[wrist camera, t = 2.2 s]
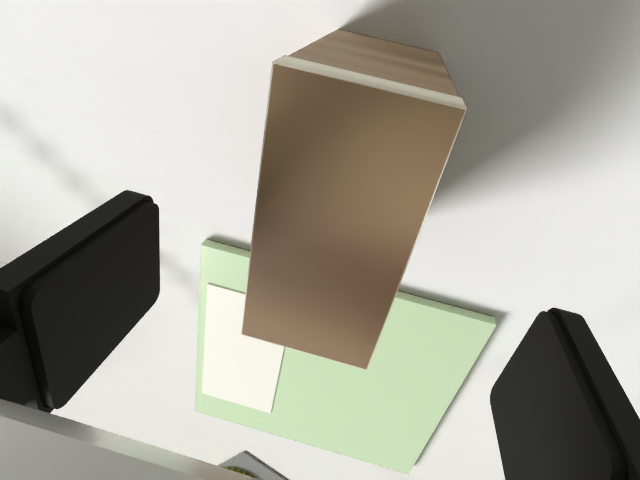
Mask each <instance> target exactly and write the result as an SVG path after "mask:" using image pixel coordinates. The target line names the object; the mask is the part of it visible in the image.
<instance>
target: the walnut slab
mask: <svg viewBox="0 0 640 480" xmlns="http://www.w3.org/2000/svg"><path fill="white" fill-rule="evenodd" d="M466 111H467V107H466V105H465V103H464V101H463V99H462V98H461V97H459V95H458V93H457V91H456V89H455V86H454V84H453V82H452V80H451V78H450V76H449V74H448V71H447V69H446V67H445V65H444V63H443V61H442V58H441V56H440V54H439V53H438V52H433V51H429V50H425V49H421V48H416V47H412V46H408V45H404V44H399V43H395V42H391V41H387V40H382V39H378V38H374V37H370V36H365V35H361V34H357V33H353V32H348V31H344V30H340V29H338V30H336V31H334V32H332V33H330V34H328V35H326V36H324V37H323V38H321V39H319V40H317V41H315V42H313V43H311V44H309V45H308V46H306V47H304V48H302V49H300V50H298V51H296V52H294V53H293V54H291V55H289V56H286V55H284V56H283V57H281V58H279V59H277V60H275V61H273V62H272V70H271V78H270V87H269V95H268V104H267V113H266V121H265V130H264V138H263V147H262V155H261V164H260V173H259V181H258V190H257V198H256V207H255V215H254V224H253V233H252V241H251V250H250V258H249V267H248V275H247V284H246V293H245V301H244V310H243V318H242V327H241V335H243V336H247V337H250V338H254V339H258V340H261V341H265V342H268V343H272V344H275V345H279V346H282V347H286V348H289V349H293V350H296V351H300V352H304V353H307V354H311V355H314V356H318V357H321V358H325V359H328V360H332V361H335V362H339V363H342V364H346V365H350V366H353V367H357V368H360V369H364V370H367V369H368V367H369V364H370V362H371V359H372V356H373V354H374V351H375V349H376V346H377V343H378V341H379V338H380V335H381V333H382V330H383V328H384V325H385V322H386V320H387V317H388V315H389V312H390V309H391V307H392V304H393V302H394V299H395V296H396V294H397V291H398V289H399V286H400V283H401V281H402V278H403V275H404V273H405V270H406V268H407V265H408V262H409V260H410V257H411V255H412V252H413V249H414V247H415V244H416V242H417V239H418V236H419V234H420V231H421V228H422V226H423V223H424V221H425V218H426V215H427V213H428V210H429V208H430V205H431V202H432V200H433V197H434V195H435V192H436V189H437V187H438V184H439V182H440V179H441V176H442V174H443V171H444V168H445V166H446V163H447V161H448V158H449V155H450V153H451V150H452V148H453V145H454V142H455V140H456V137H457V135H458V132H459V129H460V127H461V124H462V121H463V119H464V116H465V114H466Z"/></svg>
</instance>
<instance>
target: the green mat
mask: <svg viewBox="0 0 640 480" xmlns="http://www.w3.org/2000/svg"><path fill="white" fill-rule="evenodd" d="M249 258H250V251H247V250H244V249H240V248H236V247H233V246H229V245H225V244H221V243H218V242H214V241H210V240H207V239H205V241H204V242H203V243H202V244H201V258H200V286H199V314H198V342H197V371H196V399H195V411H196V412H199V413H202V414H206V415H209V416H212V417H216V418H219V419H223V420H226V421H229V422H233V423H236V424H240V425H243V426H246V427H250V428H253V429H256V430H260V431H263V432H267V433H270V434H273V435H277V436H280V437H284V438H287V439H290V440H294V441H297V442H301V443H304V444H307V445H311V446H314V447H317V448H321V449H324V450H328V451H331V452H334V453H338V454H341V455H345V456H348V457H351V458H355V459H358V460H361V461H365V462H368V463H372V464H375V465H378V466H382V467H385V468H389V469H392V470H395V471H399V472H402V473H405V474H409V472H410V470H411V469H412V467H413V465H414V464H415V462H416V460H417V459H418V457H419V455H420V453H421V452H422V450H423V448H424V447H425V445H426V443H427V442H428V440H429V438H430V437H431V435H432V433H433V432H434V430H435V428H436V426H437V425H438V423H439V421H440V420H441V418H442V416H443V415H444V413H445V411H446V410H447V408H448V406H449V405H450V403H451V401H452V399H453V398H454V396H455V394H456V393H457V391H458V389H459V388H460V386H461V384H462V383H463V381H464V379H465V378H466V376H467V374H468V372H469V371H470V369H471V367H472V366H473V364H474V362H475V361H476V359H477V357H478V356H479V354H480V352H481V351H482V349H483V347H484V345H485V344H486V342H487V340H488V339H489V337H490V335H491V334H492V332H493V330H494V329H495V327H496V321H495V317H492V316H488V315H485V314H481V313H477V312H474V311H470V310H466V309H462V308H459V307H455V306H451V305H448V304H444V303H440V302H436V301H433V300H429V299H425V298H422V297H418V296H414V295H411V294H407V293H403V292H399V291H397V294H396V296H395V299H394V302H393V304H392V307H391V309H390V312H389V315H388V317H387V320H386V322H385V325H384V328H383V330H382V333H381V335H380V338H379V341H378V343H377V346H376V349H375V351H374V354H373V356H372V359H371V362H370V364H369V367H368V369H367V370H364V369H360V368H357V367H353V366H350V365H346V364H342V363H339V362H335V361H332V360H328V359H325V358H321V357H318V356H314V355H311V354H307V353H304V352H300V351H296V350H293V349H289V348H286V347H282V346H279V345H275V344H272V343H268V342H265V341H261V340H258V339H254V338H250V337H247V336H243V335H241V327H242V318H243V310H244V301H245V293H246V284H247V275H248V267H249Z"/></svg>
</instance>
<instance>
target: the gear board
mask: <svg viewBox="0 0 640 480" xmlns="http://www.w3.org/2000/svg"><path fill="white" fill-rule="evenodd" d="M218 466H219V467H222V468H225V469H228V470H231V471H234V472H237V473H241V474H244V475H247V476H250V477H253V478H256V479H259V480H287V479H286V478H284V477H283V476H281V475H280V474H279V473H277V472H276V471H274V470H273V469H271V468H270V467H268V466H267V465H265V464H264V463H262V462H261V461H259V460H258V459H256V458H255V457H253V456H252V455H250V454H249V453H248V452H246V451H243V452H241V453H239V454H238V455H236V456H234V457H232V458H230V459H229V460H227V461H225V462H223V463H222V464H220V465H218Z"/></svg>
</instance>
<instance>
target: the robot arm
mask: <svg viewBox="0 0 640 480" xmlns="http://www.w3.org/2000/svg"><path fill="white" fill-rule="evenodd" d="M159 292H160V257H159V207H158V205H157V204H154V202H153V199H152V198H151V197H150V196H147V195H144V194H140V193H136V192H133V191H129V190H126V191H123V192H122V193H120V194H118V195H117V196H115V197H114V198H112V199H110V200H109V201H107V202H106V203H104V204H102V205H101V206H99V207H98V208H96V209H94V210H93V211H91V212H90V213H88V214H86V215H85V216H83V217H82V218H80V219H78V220H77V221H75V222H74V223H72V224H71V225H69V226H67V227H66V228H64V229H63V230H61V231H59V232H58V233H56V234H55V235H53V236H51V237H50V238H48V239H47V240H45V241H43V242H42V243H40V244H39V245H37V246H35V247H34V248H32V249H31V250H29V251H27V252H26V253H24V254H23V255H21V256H19V257H18V258H16V259H15V260H13V261H11V262H10V263H8V264H7V265H5V266H3V267H2V268H0V480H259V479H256V478H253V477H250V476H247V475H244V474H241V473H237V472H234V471H231V470H228V469H225V468H222V467H219V466H216V465H212V464H209V463H206V462H203V461H200V460H197V459H194V458H191V457H187V456H184V455H181V454H178V453H175V452H172V451H168V450H165V449H162V448H159V447H156V446H152V445H149V444H146V443H143V442H140V441H137V440H133V439H130V438H127V437H124V436H121V435H118V434H114V433H111V432H108V431H105V430H102V429H99V428H95V427H92V426H89V425H86V424H83V423H80V422H76V421H73V420H70V419H67V418H64V417H60V416H57V415H53V414H50V413H51V411H52V410H53V409H54V408H55V409H59V408H61V407H63V406H64V405H65V404H66V403H67V402H68V401H69V400H70V399H71V397H72V396H73V395H74V394H75V393H76V392H77V391H78V390H79V388H80V387H81V386H82V385H83V384H84V383H85V382H86V380H87V379H88V378H89V377H90V376H91V375H92V374H93V373H94V371H95V370H96V369H97V368H98V367H99V366H100V365H101V363H102V362H103V361H104V360H105V359H106V358H107V357H108V356H109V354H110V353H111V352H112V351H113V350H114V349H115V348H116V346H117V345H118V344H119V343H120V342H121V341H122V340H123V339H124V337H125V336H126V335H127V334H128V333H129V332H130V331H131V329H132V328H133V327H134V326H135V325H136V324H137V323H138V321H139V320H140V319H141V318H142V317H143V316H144V315H145V314H146V312H147V311H148V310H149V309H150V308H151V307H152V306H153V304H154V303H155V302H156V300H157V298H158V296H159ZM490 403H491V409H492V414H493V419H494V424H495V429H496V434H497V439H498V444H499V449H500V454H501V460H502V465H503V470H504V475H505V480H640V419H639V417H638V415H637V413H636V412H635V410H634V408H633V406H632V404H631V403H630V401H629V399H628V397H627V395H626V394H625V392H624V390H623V388H622V386H621V385H620V383H619V381H618V379H617V377H616V376H615V374H614V372H613V370H612V368H611V366H610V365H609V363H608V361H607V359H606V357H605V356H604V354H603V352H602V350H601V348H600V347H599V345H598V343H597V341H596V339H595V338H594V336H593V334H592V332H591V330H590V329H589V327H588V325H587V323H586V321H585V319H584V318H583V317H582V316H581V315H579V314H576V313H572V312H569V311H565V310H561V309H558V308H551V309H550V310H548V311H547V312H545V311H542V312H540V313H539V314H538V316H537V317H536V319H535V320H534V322H533V324H532V325H531V327H530V328H529V330H528V332H527V333H526V335H525V336H524V338H523V339H522V341H521V343H520V344H519V346H518V347H517V349H516V351H515V352H514V354H513V355H512V357H511V359H510V360H509V362H508V363H507V365H506V367H505V368H504V370H503V371H502V373H501V375H500V376H499V378H498V379H497V381H496V382H495V384H494V386H493V388H492V390H491V395H490Z"/></svg>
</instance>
